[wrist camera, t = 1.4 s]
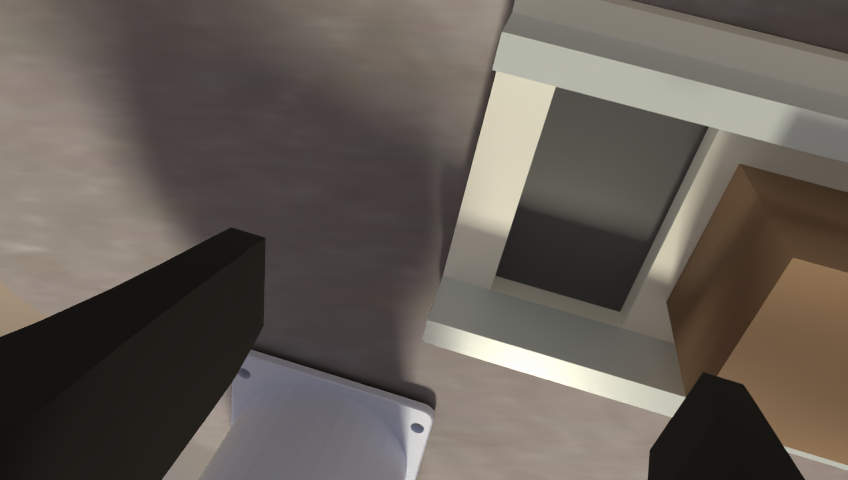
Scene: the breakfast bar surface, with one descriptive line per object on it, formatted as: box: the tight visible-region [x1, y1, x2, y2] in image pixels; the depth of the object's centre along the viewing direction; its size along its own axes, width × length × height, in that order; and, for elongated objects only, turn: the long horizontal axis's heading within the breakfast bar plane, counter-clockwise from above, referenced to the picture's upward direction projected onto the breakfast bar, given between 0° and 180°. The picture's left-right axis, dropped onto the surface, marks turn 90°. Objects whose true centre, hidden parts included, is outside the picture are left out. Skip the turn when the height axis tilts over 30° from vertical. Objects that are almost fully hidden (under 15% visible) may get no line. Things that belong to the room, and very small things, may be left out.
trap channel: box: [422, 0, 848, 470], centre depth 15 cm, size 10×19×3 cm, turn 78°
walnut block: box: [666, 164, 848, 465], centre depth 14 cm, size 4×4×4 cm
